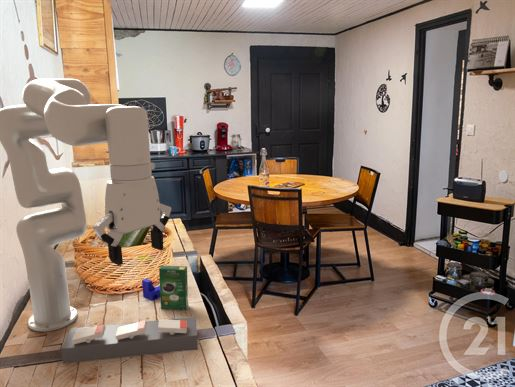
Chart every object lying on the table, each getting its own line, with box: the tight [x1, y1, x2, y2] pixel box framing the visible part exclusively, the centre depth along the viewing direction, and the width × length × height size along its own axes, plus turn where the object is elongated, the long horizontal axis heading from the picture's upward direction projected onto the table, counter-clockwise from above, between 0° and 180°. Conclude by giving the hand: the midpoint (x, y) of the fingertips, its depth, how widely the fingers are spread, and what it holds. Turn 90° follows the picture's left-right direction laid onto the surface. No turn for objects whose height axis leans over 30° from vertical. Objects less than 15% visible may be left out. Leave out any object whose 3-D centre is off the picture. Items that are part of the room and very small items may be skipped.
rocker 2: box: [116, 319, 147, 340], centre depth 107 cm, size 4×7×2 cm, turn 99°
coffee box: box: [158, 264, 189, 311], centre depth 127 cm, size 8×3×13 cm, turn 86°
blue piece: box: [141, 277, 161, 302], centre depth 138 cm, size 12×4×6 cm, turn 141°
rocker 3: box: [158, 318, 187, 335], centre depth 108 cm, size 4×7×2 cm, turn 99°
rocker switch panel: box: [60, 316, 199, 364], centre depth 109 cm, size 9×32×4 cm, turn 99°
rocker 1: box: [72, 323, 106, 344], centre depth 105 cm, size 4×7×2 cm, turn 99°
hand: (137, 255), depth 87 cm, fingers open, 9 cm apart
